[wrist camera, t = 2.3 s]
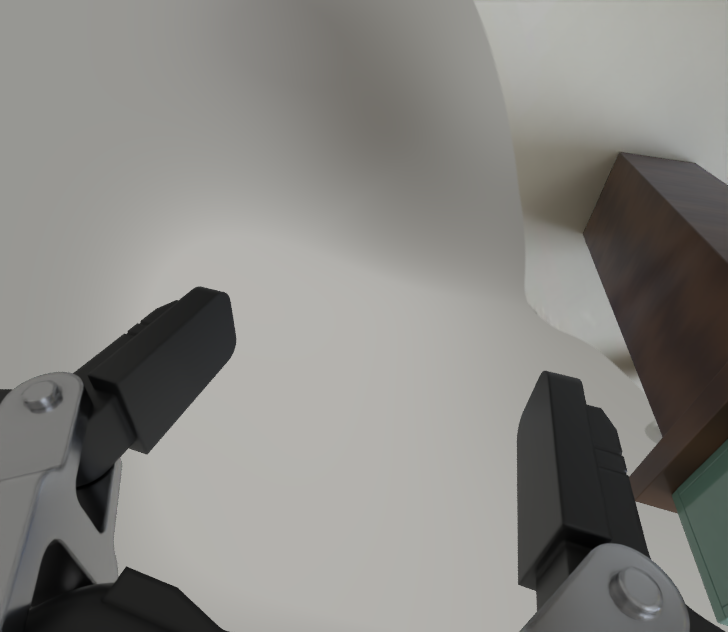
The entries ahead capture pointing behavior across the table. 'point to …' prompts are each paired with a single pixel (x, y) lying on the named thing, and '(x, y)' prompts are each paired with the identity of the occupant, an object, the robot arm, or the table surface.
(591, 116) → the table surface
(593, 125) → the table surface
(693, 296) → the stand
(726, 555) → the grey-green hollow box
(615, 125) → the table surface
